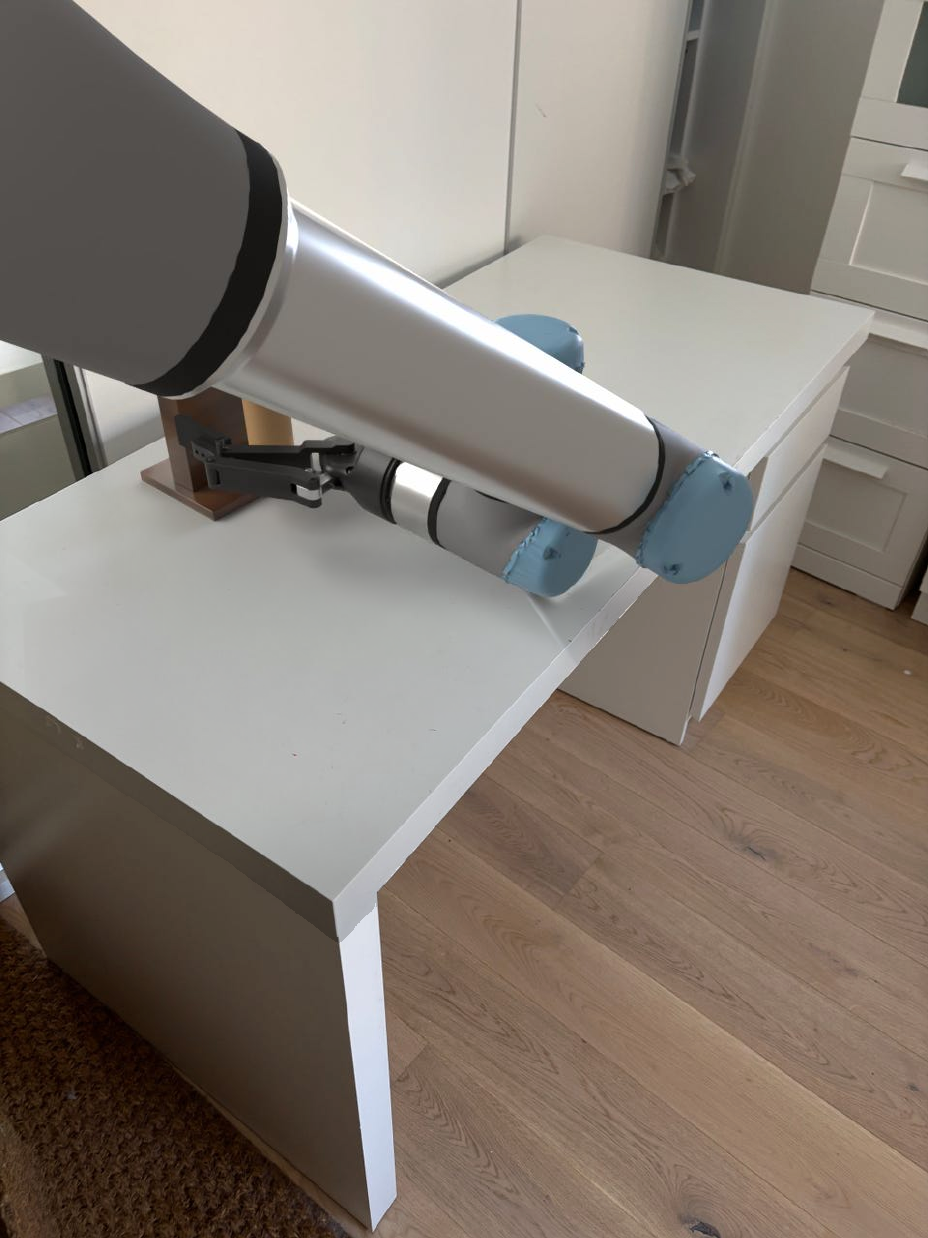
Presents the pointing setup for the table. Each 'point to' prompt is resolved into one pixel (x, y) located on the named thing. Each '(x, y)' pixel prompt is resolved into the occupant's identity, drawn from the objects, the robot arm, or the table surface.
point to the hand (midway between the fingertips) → (240, 400)
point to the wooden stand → (182, 469)
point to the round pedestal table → (266, 425)
